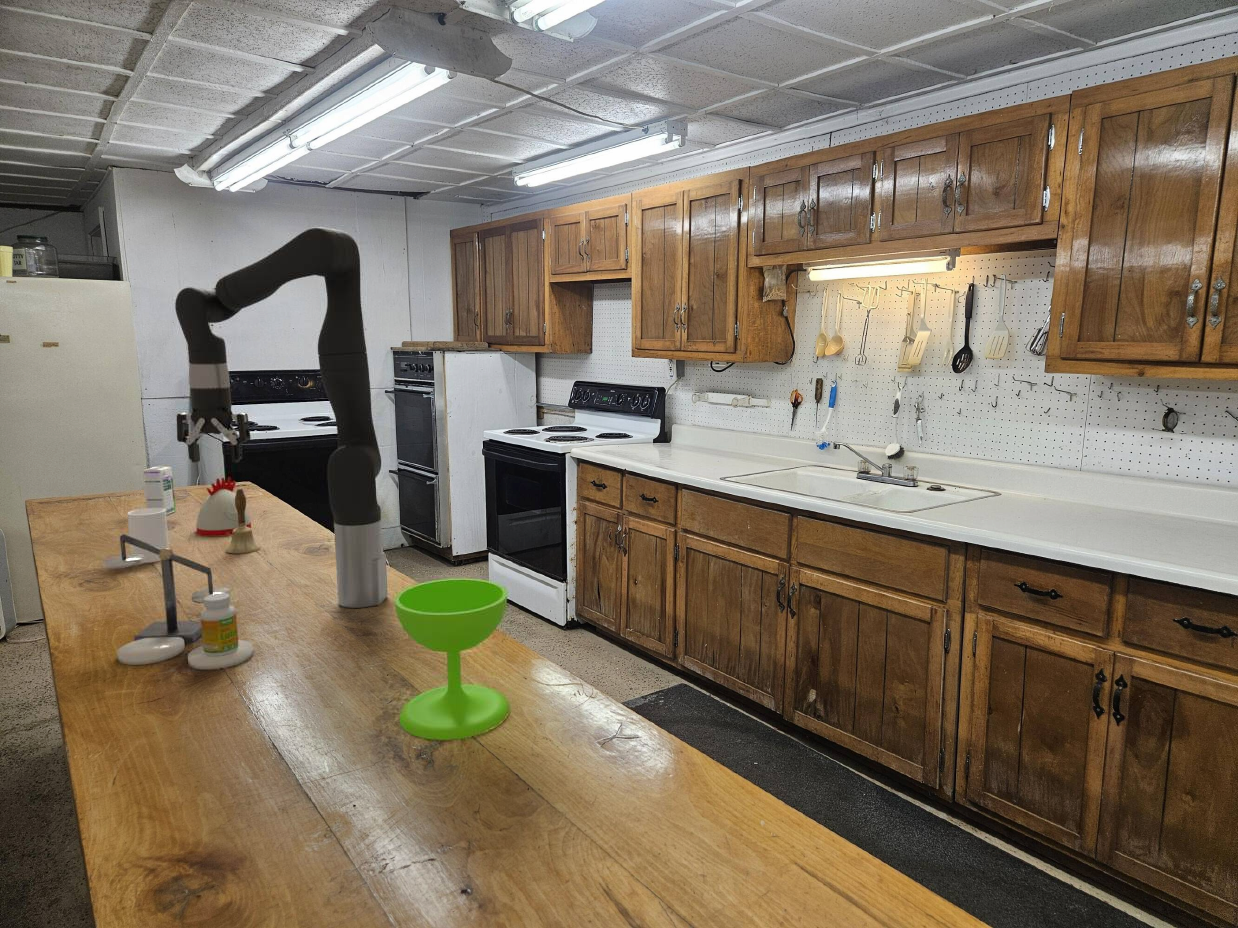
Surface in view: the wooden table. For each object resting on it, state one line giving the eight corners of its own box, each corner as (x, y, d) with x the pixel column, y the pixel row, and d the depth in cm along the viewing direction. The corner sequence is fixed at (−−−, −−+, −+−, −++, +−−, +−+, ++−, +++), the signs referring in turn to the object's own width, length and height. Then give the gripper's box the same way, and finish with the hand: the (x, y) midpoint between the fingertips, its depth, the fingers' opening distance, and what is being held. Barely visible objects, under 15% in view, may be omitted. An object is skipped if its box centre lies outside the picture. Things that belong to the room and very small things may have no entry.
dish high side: (195, 641, 141) (195, 635, 141) (164, 664, 131) (164, 658, 131) (140, 641, 141) (139, 635, 141) (104, 664, 131) (104, 658, 131)
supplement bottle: (224, 658, 131) (219, 603, 129) (196, 655, 132) (191, 600, 130) (245, 646, 136) (241, 592, 134) (218, 643, 137) (214, 590, 135)
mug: (125, 555, 196) (120, 508, 194) (163, 549, 202) (159, 503, 200) (134, 565, 187) (130, 516, 186) (174, 558, 193) (170, 511, 191)
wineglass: (417, 687, 123) (412, 577, 120) (518, 689, 123) (516, 579, 120) (383, 738, 107) (377, 613, 104) (499, 741, 107) (496, 615, 104)
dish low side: (263, 646, 139) (262, 639, 139) (237, 669, 129) (236, 662, 129) (207, 646, 139) (206, 639, 139) (176, 669, 129) (175, 662, 129)
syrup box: (165, 515, 239) (161, 469, 236) (146, 515, 239) (142, 469, 237) (176, 511, 244) (172, 466, 242) (157, 511, 244) (153, 466, 242)
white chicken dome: (261, 528, 224) (257, 477, 222) (214, 538, 213) (210, 484, 210) (233, 522, 232) (229, 472, 229) (186, 531, 220) (182, 479, 218)
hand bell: (262, 544, 207) (258, 485, 204) (258, 552, 199) (254, 491, 197) (228, 546, 204) (223, 487, 202) (223, 555, 197) (218, 493, 194)
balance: (239, 627, 148) (232, 527, 145) (224, 641, 141) (216, 537, 138) (123, 630, 146) (113, 529, 143) (103, 644, 139) (91, 539, 136)
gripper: (252, 384, 167) (257, 459, 170) (185, 384, 167) (191, 459, 169) (235, 386, 160) (241, 465, 162) (165, 386, 159) (172, 464, 162)
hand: (216, 461), depth 166 cm, fingers open, 8 cm apart
